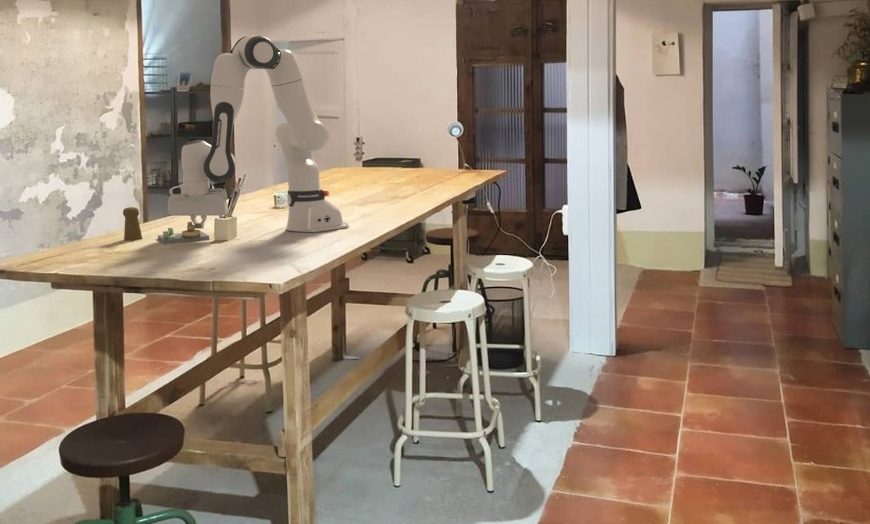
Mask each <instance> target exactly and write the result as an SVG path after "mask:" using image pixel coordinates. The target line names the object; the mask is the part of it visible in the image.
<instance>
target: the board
mask: <svg viewBox="0 0 870 524" xmlns="http://www.w3.org/2000/svg"><path fill="white" fill-rule="evenodd" d="M200 234H201V235H200V236H197V237H182V232H179V233H174V227H168V228H167V230H165V231H162V234H159V235H157V240H159V241H160V242H162V243H163V244H164V245H167V244H175V243H176V244H177V243H186V242H196V241H204V240H205V241H206V240H210V235H209V234H207V233H205V232H204V231H202V230H200Z"/></svg>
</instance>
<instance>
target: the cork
mask: <svg viewBox="0 0 870 524" xmlns="http://www.w3.org/2000/svg"><path fill="white" fill-rule="evenodd" d="M122 215H123V216H124V234H123V235H124V236H123V240H124V241H126V242H127V241H128V242H129V241H130V242H131V241H132V242H133V241H141V240H143V235H142V230H141V226H140V221H139V218H138V217H139V215H140V212H139V209H138V208H137V207H133V206H130V207H125V208H124V209H123V211H122Z"/></svg>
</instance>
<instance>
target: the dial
mask: <svg viewBox="0 0 870 524" xmlns="http://www.w3.org/2000/svg"><path fill="white" fill-rule="evenodd" d="M200 231H201V230H200V229H195V227H194V223H193V222H192V221H187V225H186V230H182V231H181V233H182V237H197V236H200V235H201V234H200Z"/></svg>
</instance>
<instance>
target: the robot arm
mask: <svg viewBox="0 0 870 524" xmlns="http://www.w3.org/2000/svg"><path fill="white" fill-rule="evenodd" d="M251 70H264V71H265V72H266V73H267V76H268V77H269V82H270V86H271V89H272V93H273V96H274V100H275V104H276V107H277V108H278V110H279V111H280V112H281V113H282V114H283V117H284V118H285V119H286V120H284V121H282V122H281V123H279V125H278V126H277V128H276V130H275V138H276V140H277V142H278V144H279V145H280V147H281V149H282V153H283V156H284V159H285V165H286V168H287V169H286V170H287V181H288V182H287V183H288V190H287V196H286V197H287V206H288V214H287V222H286V226H285V227H286V228H285V230H287V231H290V232H302V233H304V232H305V233H307V232H308V233H319V232H326V231H333V230H339V229H347V228H349V227H350V225H349V223H348V222H346V221H343V216H342V212H341V211H340V209H339V208H338V207H336V206H335V205H334V204H332V203H331V202H330V201H329V200H327V199H325V198H326V197H329V196H330V192H329V190H324V189H321V186H320V184H321V183H320V167H319V165H318V164H317V163H316V161H315V158H314V155H313V152H317V151H320V150H323V149H324V148H325V147H326V146H327V144H328V141H329V130H328V128H327V127H326V126H325V124H323V123H322V122H321V120H320V119H319V117H318V116H317V114H316V112H315V109H314V108H313V106H312V103H311V102H310V99H309V97H308V93H307V89H306V86H305V82H304V79H303V75H302V72H301V69H300V65H299V64H298V61H297V59H296V56H295V54H294V53H293V52H292V51H291V50H289V49H285V48H278V46H277V45H276V44H274V42H273V41H272V40H271V39H269V37H266V36H264V35H257V34H251V35H248V36H247V35H246V36H243V37H241V38H239V39H238V40H237V41H236V43H235V44H234V45H233V47H232V48H231V50H230V52H224V53H221V54H219V55H218V56H216V58H215V61H214V64H213V67H212V73H211V79H210V90H209V91H210V94H209V95H210V107H211V113H212V119H213V123H212V136H211V144H209V143H208V142H207V141H205V140H202V139H199V140H193V141H189V142H187V143H185V144H183V146H182V147H181V152H180V153H181V156H180V157H181V160H180V161H181V169H182V172H183V173H182V175H183V177H182V183H181V184H178V185H177V186H173V187H171V188H170V189H169V194H170V195H169V196H168V199H167V213H168V214H169V215H170V217H172V216H173V217H174V216H175V217H176V216H177V217H178V216H181V217H184V216H187V217H188V216H190V218H189V219H190V220H191V222H192V224H193V225H194V227H195V230H200V229H202V230H203V229H205V222H206V221H207V218H208V217H210V216H211V217H212V216H213V217H214V216H215V217H216V216H218V217H221V216H225V215H227V214H228V212H229V206H228V201H227V200H228V193H227V191H226V190H225V189H223V188H220V187H219V188H218V187H217V188H215V187H213V188H212V187H211V185H210V181H212V182H214V183H218V184H221V183H226V182H228V181H230V180H231V179H232V177H234V174H235V170H236V168H237V159H236V157H235V155H234V154H233V153H232V152H231V151H232V140H233V139H232V137H233V129H234V128H233V127H234V123H235V120H236V118H237V117H238V114H239V113H240V110H241V107H242V103H243V100H244V97H245V96H244V94H245V85H246V84H245V79H246V76H247V74H248V72H249V71H251ZM197 216H200V219H201V222H198V221H197V220H196V218H197Z"/></svg>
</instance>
